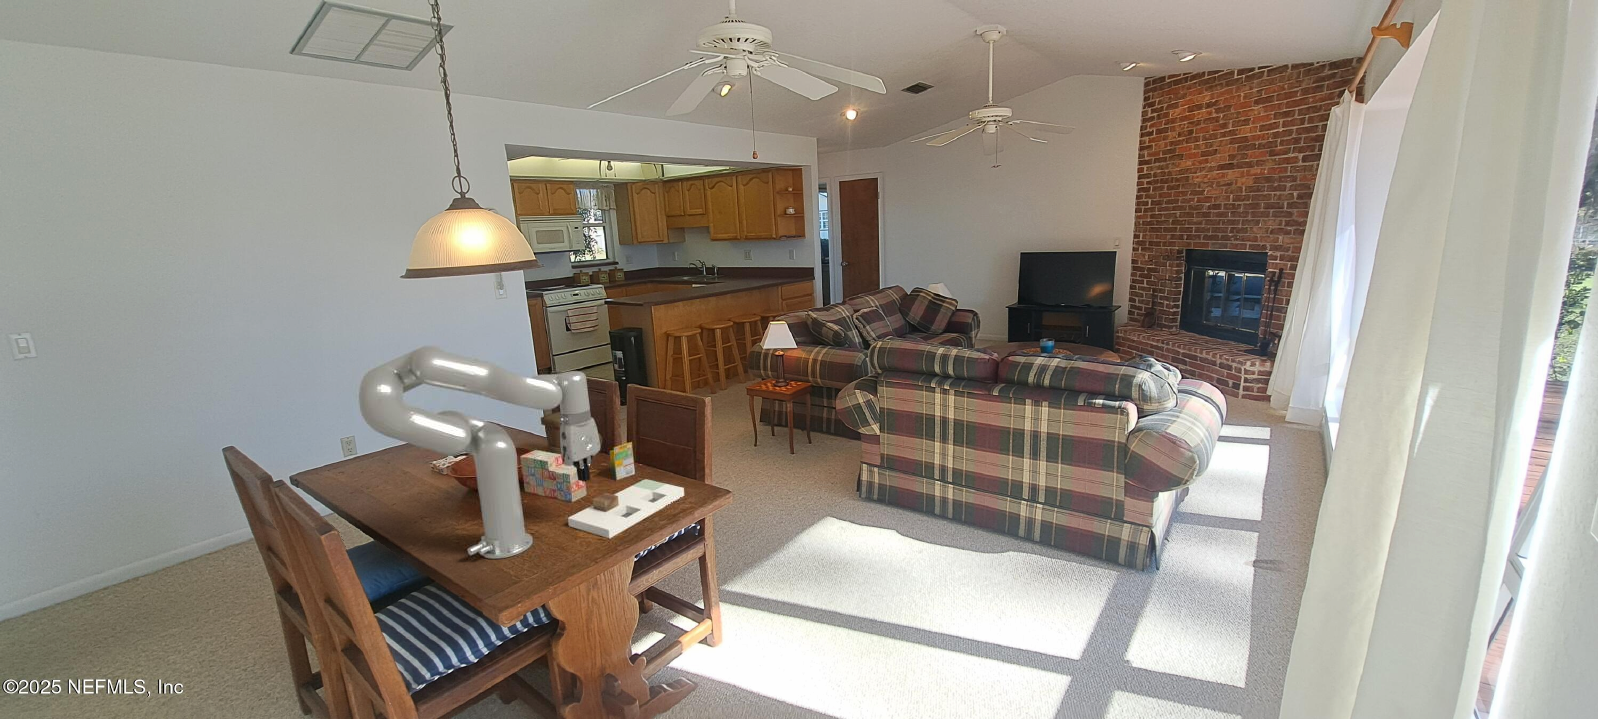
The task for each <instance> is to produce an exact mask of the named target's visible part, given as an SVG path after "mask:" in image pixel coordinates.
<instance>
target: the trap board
mask: <svg viewBox="0 0 1598 719" xmlns="http://www.w3.org/2000/svg"><path fill="white" fill-rule="evenodd" d="M614 495H616V496H618V502H619V506H617V507H615V508H613V509H611V510H609V511H607V512H603V511H600V510H596V509H594V508H593V505H591V506H588V507H587V508H584V509H583V510H581V511H579V512H577V513H574V514H573V515H571V516H569V517H568V518H567V522H568V526H569V527H571V528H574V529H577V530H580V531H584V532H587V533H590V534H594V535H597V536H600V537H604V538H607V539H611V538H613V537H614V536H616V535H618V534H620V533H621V532H623V531H625V530H627V529H629V528H630V527H632V526H634V525H636V524H637V523H639V522H641V521H642V520H644V519H645V518H647V517H650V516H651V515H653V514H654V513H656V512H658V511H660V510H662V509H664V508H665V507H666V505H667V506H668V504H669V505H670V504H672V503H674V502H675V501H677V500H679V499H681V498H683V497H684V496H685V488H684V487H681V486H677V485H672V484H670V483H669V484H668V483H664V482H660V481H655V480H651V479H646V478H645V479H642V480H641V481H639V482H636V483H635V484H633V485H631V486H629V487H626V488H624V489H623V490H621V491H618V492H617V493H614ZM680 497H681V498H680ZM673 501H674V502H673ZM671 502H672V503H671Z"/></svg>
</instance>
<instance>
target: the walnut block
mask: <svg viewBox="0 0 1598 719" xmlns="http://www.w3.org/2000/svg"><path fill="white" fill-rule="evenodd" d="M592 506H593V508H594V509H596V510H600V511H603V512H607V511H609V510H611V509H613V508H615V507H617V506H619V502H618V496H616V495H615V494H612V493H608V492H605V493H603V494H600V495H598V496H596V497H594V498H592Z"/></svg>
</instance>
